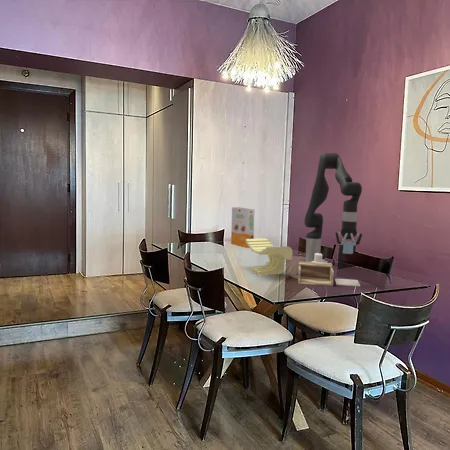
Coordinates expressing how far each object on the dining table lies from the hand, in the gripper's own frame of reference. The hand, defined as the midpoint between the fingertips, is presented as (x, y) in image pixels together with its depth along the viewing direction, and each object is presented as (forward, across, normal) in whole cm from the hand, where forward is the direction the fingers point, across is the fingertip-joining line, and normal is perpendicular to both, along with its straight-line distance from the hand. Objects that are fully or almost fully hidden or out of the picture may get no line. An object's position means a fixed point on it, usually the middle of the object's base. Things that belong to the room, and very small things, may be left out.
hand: (347, 251), depth 225 cm
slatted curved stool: (+17, +44, -14) cm, 49 cm away
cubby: (+17, +16, 0) cm, 24 cm away
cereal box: (+18, +72, -102) cm, 126 cm away
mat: (+17, -1, 0) cm, 17 cm away
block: (+1, 0, 0) cm, 1 cm away
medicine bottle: (+17, +14, -20) cm, 30 cm away
